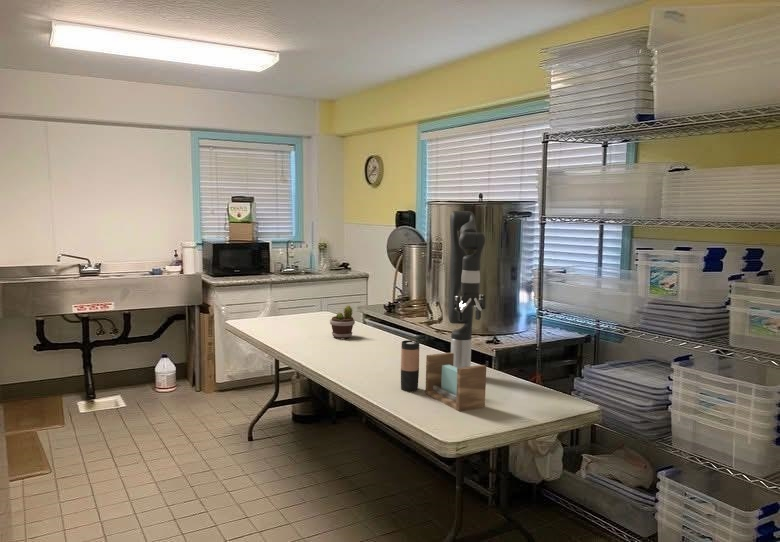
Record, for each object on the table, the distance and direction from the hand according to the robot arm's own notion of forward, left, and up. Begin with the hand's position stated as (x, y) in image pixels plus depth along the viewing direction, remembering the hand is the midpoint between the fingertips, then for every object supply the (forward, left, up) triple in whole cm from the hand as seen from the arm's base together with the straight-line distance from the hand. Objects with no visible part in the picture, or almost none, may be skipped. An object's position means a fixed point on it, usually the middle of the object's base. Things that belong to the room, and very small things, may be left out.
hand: (469, 320), depth 242 cm
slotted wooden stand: (+7, -11, -30) cm, 33 cm away
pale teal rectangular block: (+7, -11, -29) cm, 31 cm away
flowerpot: (-118, -5, -30) cm, 122 cm away
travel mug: (-13, -20, -30) cm, 39 cm away
